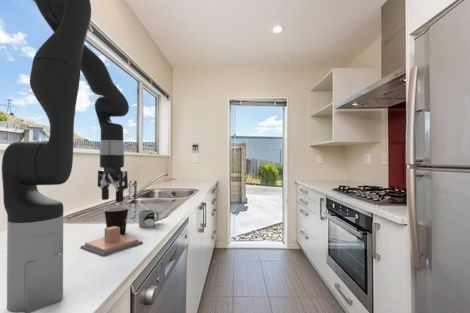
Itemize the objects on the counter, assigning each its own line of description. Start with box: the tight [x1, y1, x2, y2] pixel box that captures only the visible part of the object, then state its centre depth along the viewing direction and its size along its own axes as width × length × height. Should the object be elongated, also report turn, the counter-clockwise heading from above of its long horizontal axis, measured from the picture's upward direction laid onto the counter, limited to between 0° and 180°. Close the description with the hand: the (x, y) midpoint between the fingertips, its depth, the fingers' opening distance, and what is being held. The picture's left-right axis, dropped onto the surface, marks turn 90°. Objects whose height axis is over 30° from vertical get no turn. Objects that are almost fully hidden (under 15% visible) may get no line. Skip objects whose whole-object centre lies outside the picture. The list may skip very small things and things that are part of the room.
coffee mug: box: [104, 206, 129, 235], centre depth 101 cm, size 12×9×10 cm
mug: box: [138, 209, 160, 229], centre depth 114 cm, size 10×7×7 cm
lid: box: [84, 226, 139, 252], centre depth 86 cm, size 12×12×6 cm
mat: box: [80, 240, 144, 257], centre depth 86 cm, size 14×14×1 cm
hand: (112, 200), depth 87 cm, fingers open, 8 cm apart
